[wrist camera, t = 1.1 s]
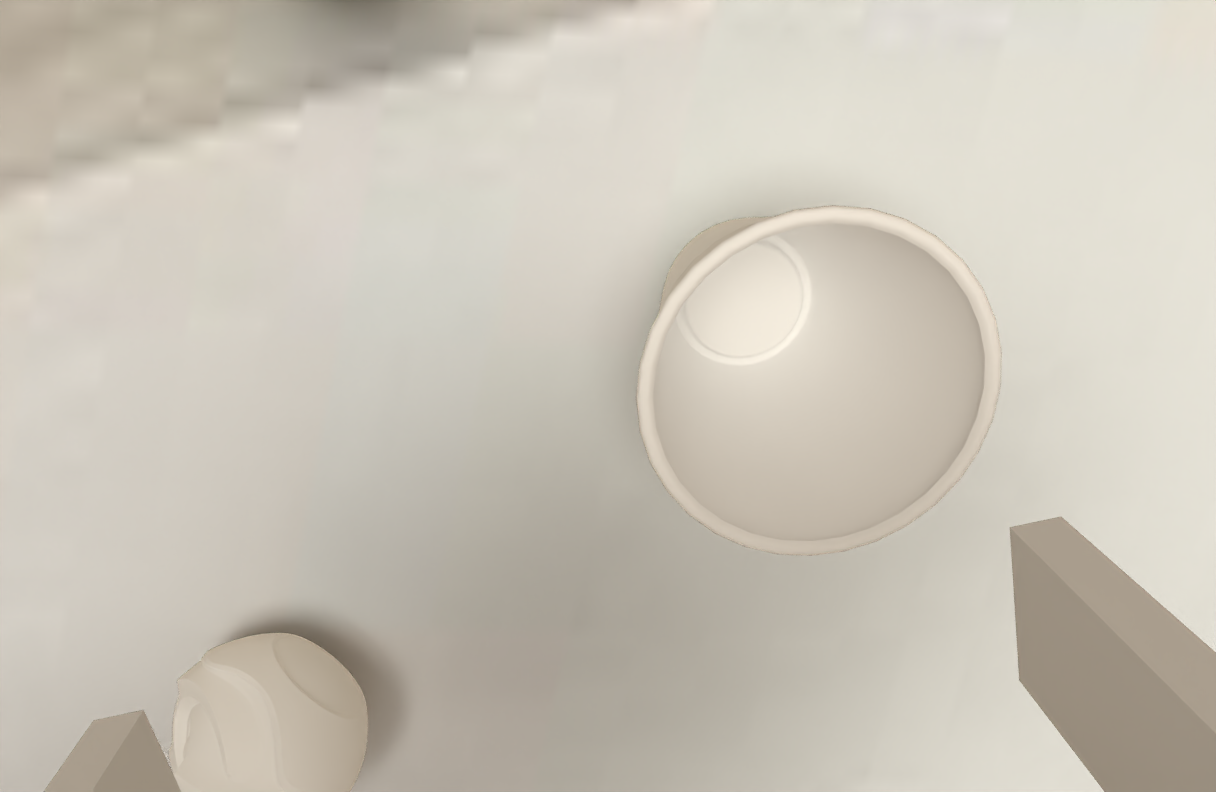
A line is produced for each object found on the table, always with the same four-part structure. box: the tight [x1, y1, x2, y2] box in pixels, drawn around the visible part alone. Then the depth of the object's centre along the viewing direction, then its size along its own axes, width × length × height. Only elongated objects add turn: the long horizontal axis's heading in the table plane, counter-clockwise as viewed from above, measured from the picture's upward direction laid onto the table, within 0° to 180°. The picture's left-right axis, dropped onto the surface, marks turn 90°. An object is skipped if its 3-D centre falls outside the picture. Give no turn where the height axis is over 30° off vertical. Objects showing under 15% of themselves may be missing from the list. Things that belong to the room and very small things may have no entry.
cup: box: [636, 205, 1002, 556], centre depth 30 cm, size 10×10×11 cm
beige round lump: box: [168, 633, 368, 792], centre depth 36 cm, size 8×8×8 cm
